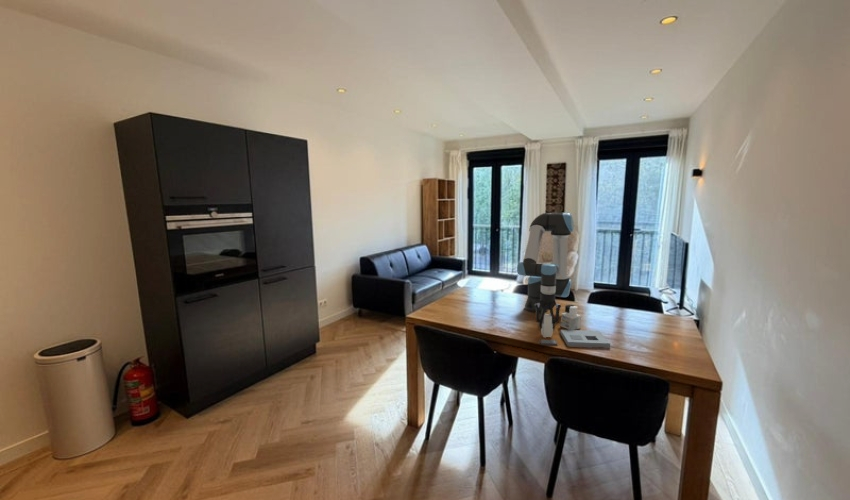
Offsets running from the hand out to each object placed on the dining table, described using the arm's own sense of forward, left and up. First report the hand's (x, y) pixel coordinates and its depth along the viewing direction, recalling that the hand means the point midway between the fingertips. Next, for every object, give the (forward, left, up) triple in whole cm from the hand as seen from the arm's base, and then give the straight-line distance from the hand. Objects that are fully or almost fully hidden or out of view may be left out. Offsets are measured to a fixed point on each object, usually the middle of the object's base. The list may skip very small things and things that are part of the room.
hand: (546, 334), depth 187 cm
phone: (+9, -1, -1) cm, 10 cm away
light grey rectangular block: (0, 0, -1) cm, 1 cm away
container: (-14, +16, -1) cm, 21 cm away
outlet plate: (+4, +18, -1) cm, 19 cm away
